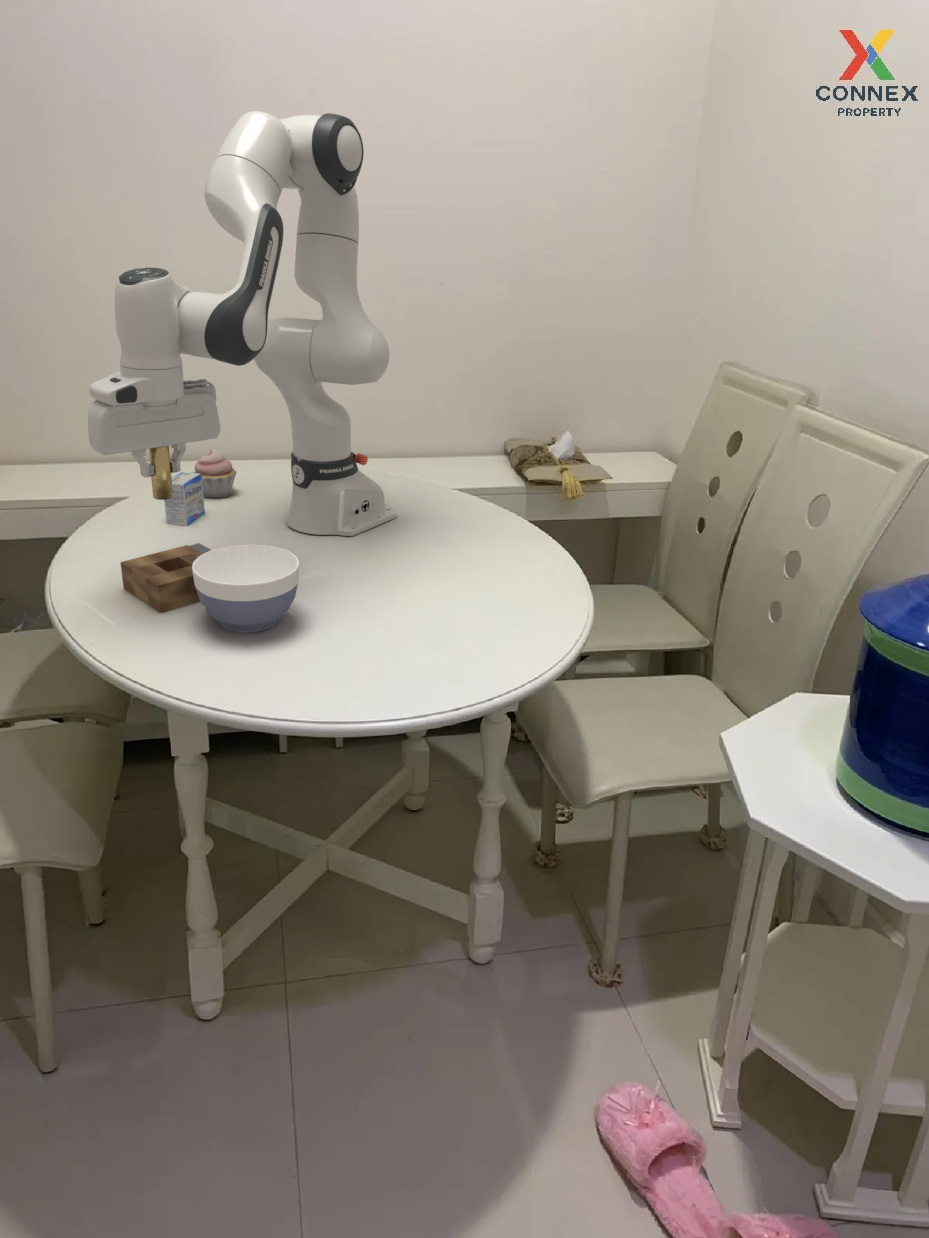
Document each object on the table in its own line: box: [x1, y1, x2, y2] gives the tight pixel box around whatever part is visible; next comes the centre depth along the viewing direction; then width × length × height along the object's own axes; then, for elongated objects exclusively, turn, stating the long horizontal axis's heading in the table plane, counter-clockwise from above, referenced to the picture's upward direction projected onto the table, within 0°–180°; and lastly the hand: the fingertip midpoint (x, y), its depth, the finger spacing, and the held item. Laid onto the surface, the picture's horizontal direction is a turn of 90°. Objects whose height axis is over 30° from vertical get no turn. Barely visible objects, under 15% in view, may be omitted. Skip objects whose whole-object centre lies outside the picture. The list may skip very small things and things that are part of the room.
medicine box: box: [163, 471, 206, 527], centre depth 180 cm, size 8×4×9 cm, turn 168°
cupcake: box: [192, 447, 238, 499], centre depth 195 cm, size 9×9×10 cm
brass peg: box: [148, 446, 173, 501], centre depth 144 cm, size 3×3×10 cm
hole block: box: [120, 544, 202, 614], centre depth 151 cm, size 12×12×5 cm
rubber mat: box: [188, 542, 212, 554], centre depth 165 cm, size 10×8×1 cm
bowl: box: [192, 543, 300, 634], centre depth 142 cm, size 16×16×10 cm
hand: (160, 473), depth 144 cm, fingers closed on brass peg, 3 cm apart
